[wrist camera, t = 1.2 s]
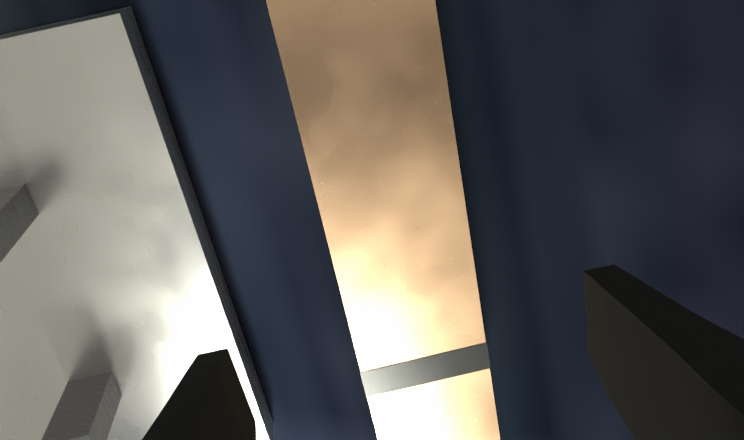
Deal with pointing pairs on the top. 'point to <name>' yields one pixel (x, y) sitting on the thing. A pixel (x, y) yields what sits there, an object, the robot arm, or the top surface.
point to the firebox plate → (100, 241)
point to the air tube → (392, 208)
